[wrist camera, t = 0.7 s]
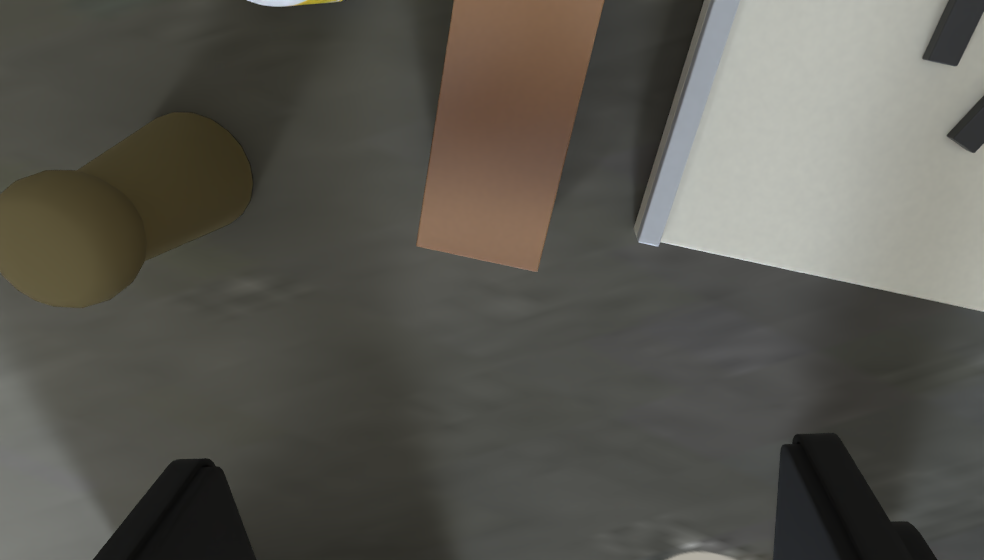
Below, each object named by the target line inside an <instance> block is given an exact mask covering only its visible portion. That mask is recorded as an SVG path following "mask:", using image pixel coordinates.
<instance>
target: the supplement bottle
mask: <svg viewBox="0 0 984 560" xmlns="http://www.w3.org/2000/svg"><path fill="white" fill-rule="evenodd" d="M247 1H250V2H253V3H256V4H260V5H265V6H276V7H284V6H296V5H304V4H317V3H334V2H342V1H346V0H247Z"/></svg>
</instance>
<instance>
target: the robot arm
mask: <svg viewBox="0 0 984 560" xmlns="http://www.w3.org/2000/svg"><path fill="white" fill-rule="evenodd" d="M93 560H256V557H255V555H254V552H253V549H252V547H251V544H250V541H249V539H248V536H247V533H246V531H245V528H244V525H243V523H242V520H241V517H240V515H239V512H238V509H237V506H236V504H235V501H234V498H233V496H232V493H231V490H230V488H229V485H228V482H227V480H226V477H225V474H224V472H223V470H222V469H221V468H220V467H216V466H215V464H214V463H213V462H212V461H211V460H210V459H206V458H204V459H179V460H175V461H173V462H172V463H170V464H169V465H168V467H167V468H166V469H165V470H164V472H163V473H162V474H161V475H160V477H159V478H158V479H157V480H156V481H155V483H154V484H153V485H152V486H151V488H150V489H149V490H148V491H147V493H146V494H145V495H144V496H143V498H142V499H141V500H140V501H139V503H138V504H137V505H136V506H135V508H134V509H133V510H132V511H131V513H130V514H129V515H128V516H127V518H126V519H125V520H124V521H123V523H122V524H121V525H120V526H119V528H118V529H117V530H116V531H115V533H114V534H113V535H112V536H111V538H110V539H109V540H108V541H107V543H106V544H105V545H104V546H103V548H102V549H101V550H100V551H99V553H98V554H97V555H96V556H95V558H94V559H93ZM773 560H937V559H936V557H935V555H934V554H933V552H932V551H931V549H930V548H929V546H928V545H927V543H926V542H925V540H924V539H923V537H922V535H921V534H920V533H919V532H918V530H917V529H916V528H915V527H914V526H913V525H912V524H910V523H909V522H890V520H889V518H888V517H887V515H886V513H885V512H884V510H883V508H882V507H881V505H880V504H879V502H878V500H877V499H876V497H875V495H874V494H873V492H872V490H871V489H870V487H869V485H868V484H867V482H866V481H865V479H864V477H863V476H862V474H861V472H860V471H859V469H858V467H857V466H856V464H855V462H854V461H853V459H852V457H851V456H850V454H849V453H848V451H847V449H846V448H845V446H844V444H843V443H842V441H841V439H840V438H839V437H838V436H837V435H836V434H835V433H820V434H797V435H795V436H794V438H793V442H792V444H785V445H782V447H781V453H780V468H779V482H778V497H777V511H776V526H775V540H774V555H773Z"/></svg>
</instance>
